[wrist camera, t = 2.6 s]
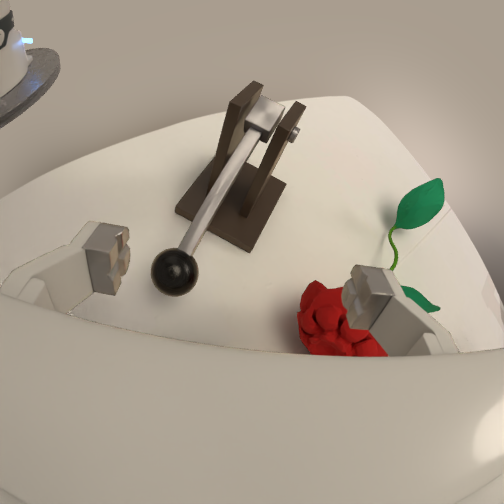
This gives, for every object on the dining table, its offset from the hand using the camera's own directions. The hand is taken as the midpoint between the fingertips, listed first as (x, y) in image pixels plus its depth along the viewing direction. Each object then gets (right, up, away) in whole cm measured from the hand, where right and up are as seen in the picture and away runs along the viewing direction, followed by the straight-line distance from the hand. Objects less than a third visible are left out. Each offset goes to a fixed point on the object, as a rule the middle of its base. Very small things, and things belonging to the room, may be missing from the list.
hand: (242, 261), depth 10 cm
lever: (-2, +5, +13) cm, 14 cm away
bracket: (-2, +6, +22) cm, 23 cm away
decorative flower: (+17, -4, +23) cm, 29 cm away
